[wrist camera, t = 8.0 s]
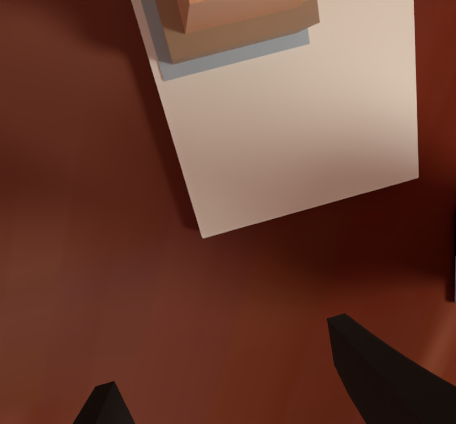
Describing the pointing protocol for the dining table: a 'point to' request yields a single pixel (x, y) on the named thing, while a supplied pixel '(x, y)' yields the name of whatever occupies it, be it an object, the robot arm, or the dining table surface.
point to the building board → (286, 105)
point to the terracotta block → (227, 11)
